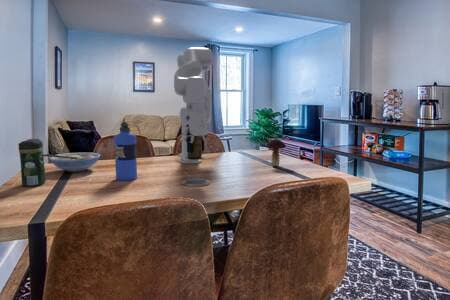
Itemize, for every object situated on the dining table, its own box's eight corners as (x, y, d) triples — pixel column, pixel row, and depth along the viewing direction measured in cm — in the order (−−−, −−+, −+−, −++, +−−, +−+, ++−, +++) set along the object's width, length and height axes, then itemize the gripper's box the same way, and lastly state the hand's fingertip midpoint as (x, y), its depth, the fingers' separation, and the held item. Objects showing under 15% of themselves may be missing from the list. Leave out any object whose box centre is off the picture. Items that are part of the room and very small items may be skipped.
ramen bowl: (112, 168, 165) (112, 152, 164) (75, 178, 144) (73, 160, 143) (77, 164, 175) (76, 149, 174) (37, 172, 155) (36, 155, 154)
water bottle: (125, 182, 138) (123, 123, 135) (111, 179, 143) (108, 122, 140) (141, 177, 146) (140, 122, 142) (127, 175, 151) (125, 121, 147)
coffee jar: (27, 181, 137) (23, 138, 134) (48, 180, 139) (44, 137, 136) (18, 187, 128) (14, 140, 125) (41, 186, 130) (37, 140, 127)
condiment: (199, 156, 141) (199, 128, 139) (207, 159, 133) (207, 130, 132) (183, 157, 138) (183, 129, 136) (190, 160, 130) (189, 130, 128)
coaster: (175, 183, 136) (175, 182, 136) (194, 178, 146) (194, 176, 146) (197, 188, 129) (197, 186, 129) (215, 182, 139) (215, 180, 139)
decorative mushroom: (276, 169, 167) (277, 140, 165) (260, 166, 175) (261, 138, 173) (289, 166, 174) (290, 139, 172) (273, 163, 182) (274, 137, 180)
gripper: (188, 108, 124) (188, 154, 126) (215, 107, 138) (215, 149, 140) (174, 107, 128) (174, 153, 131) (201, 107, 142) (201, 148, 145)
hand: (195, 151), depth 135 cm, fingers closed on condiment, 6 cm apart
